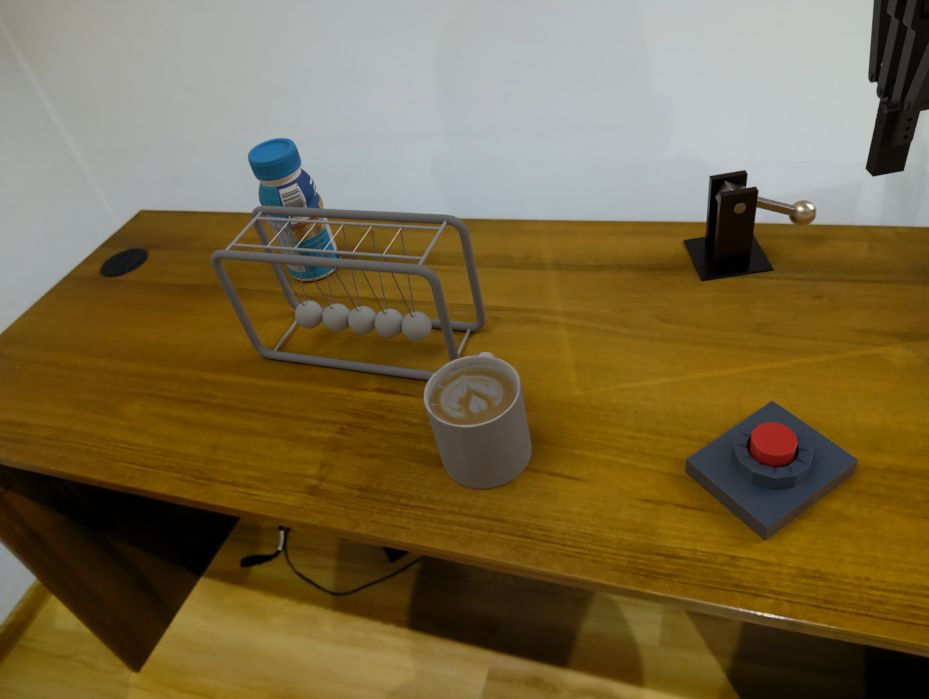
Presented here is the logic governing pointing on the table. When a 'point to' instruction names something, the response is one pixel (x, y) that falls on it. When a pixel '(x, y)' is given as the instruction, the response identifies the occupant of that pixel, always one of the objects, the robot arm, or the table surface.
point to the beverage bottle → (291, 202)
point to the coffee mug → (479, 420)
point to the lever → (780, 206)
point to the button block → (769, 472)
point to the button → (773, 444)
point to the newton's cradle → (361, 317)
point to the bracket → (728, 232)
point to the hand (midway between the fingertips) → (884, 169)
